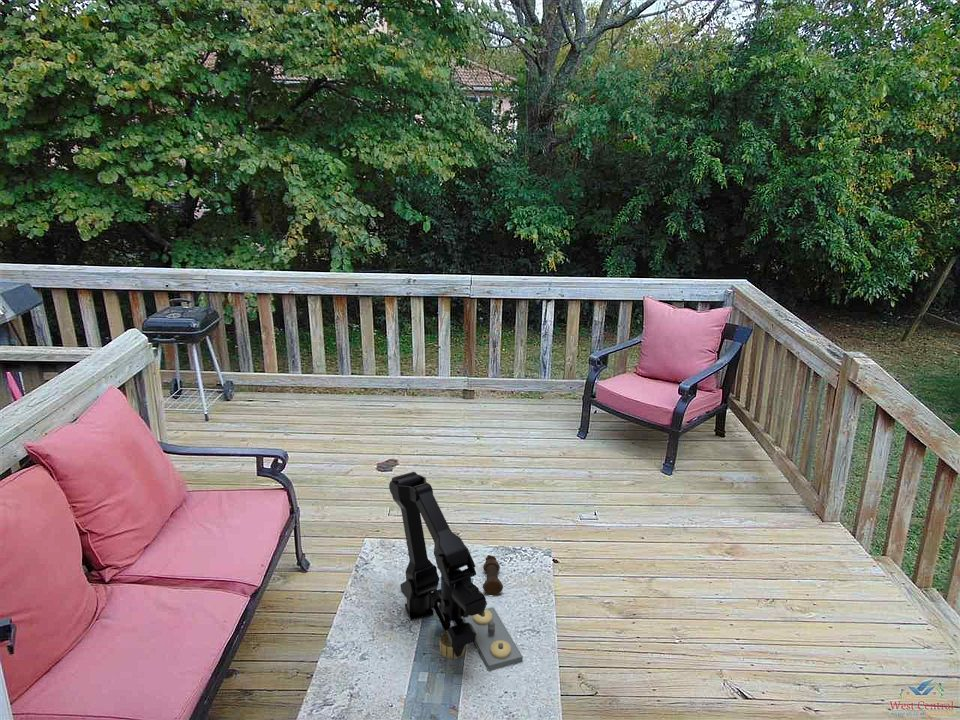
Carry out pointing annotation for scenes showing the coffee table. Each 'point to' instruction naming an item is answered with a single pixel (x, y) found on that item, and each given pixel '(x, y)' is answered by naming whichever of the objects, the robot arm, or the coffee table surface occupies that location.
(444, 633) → the brass gear
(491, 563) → the bolt
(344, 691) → the coffee table surface
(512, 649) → the gear board
